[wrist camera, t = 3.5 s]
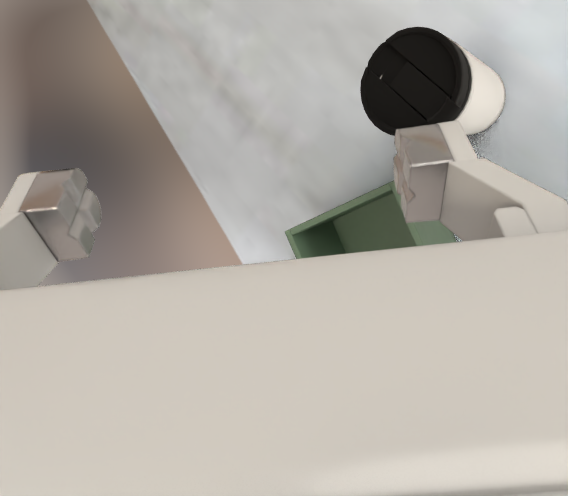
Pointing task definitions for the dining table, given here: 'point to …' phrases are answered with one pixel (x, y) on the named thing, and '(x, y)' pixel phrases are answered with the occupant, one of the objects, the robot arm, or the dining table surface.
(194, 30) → the dining table surface
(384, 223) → the waste bin
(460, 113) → the travel mug
